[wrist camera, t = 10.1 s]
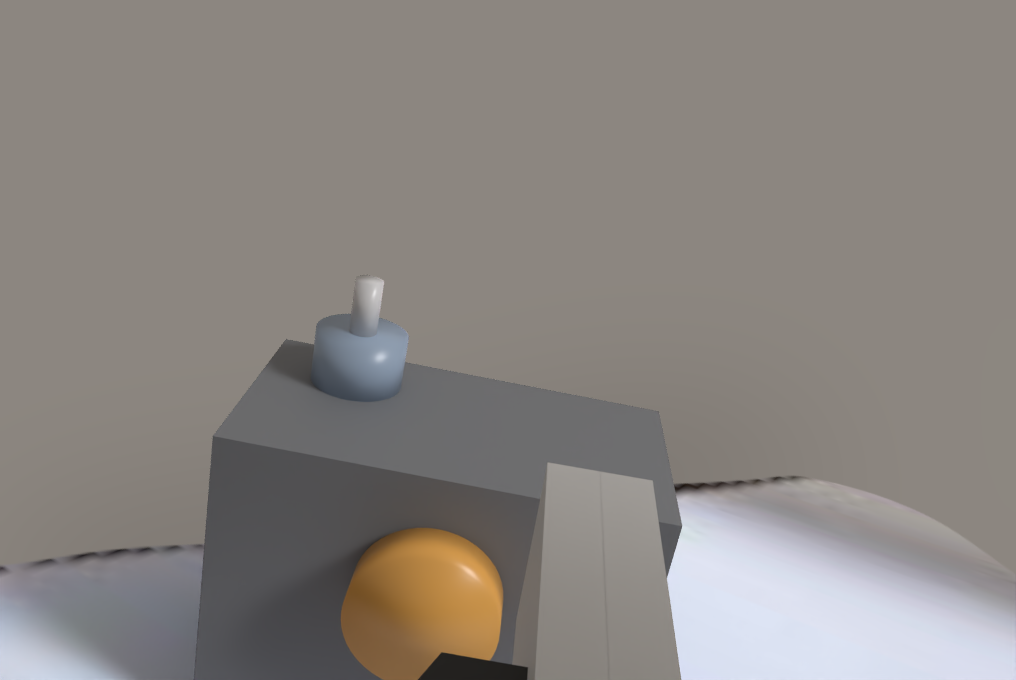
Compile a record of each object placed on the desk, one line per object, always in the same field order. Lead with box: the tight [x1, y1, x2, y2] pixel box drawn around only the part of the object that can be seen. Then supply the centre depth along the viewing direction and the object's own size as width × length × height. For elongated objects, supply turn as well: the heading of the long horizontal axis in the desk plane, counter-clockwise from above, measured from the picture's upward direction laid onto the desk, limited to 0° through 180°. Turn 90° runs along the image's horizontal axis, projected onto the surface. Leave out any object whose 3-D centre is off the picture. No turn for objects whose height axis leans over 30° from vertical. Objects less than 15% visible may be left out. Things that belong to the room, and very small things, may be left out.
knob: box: [341, 528, 503, 680], centre depth 39 cm, size 6×8×6 cm
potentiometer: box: [310, 275, 409, 402], centre depth 41 cm, size 4×4×5 cm
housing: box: [194, 339, 682, 680], centre depth 43 cm, size 18×10×14 cm, turn 87°
